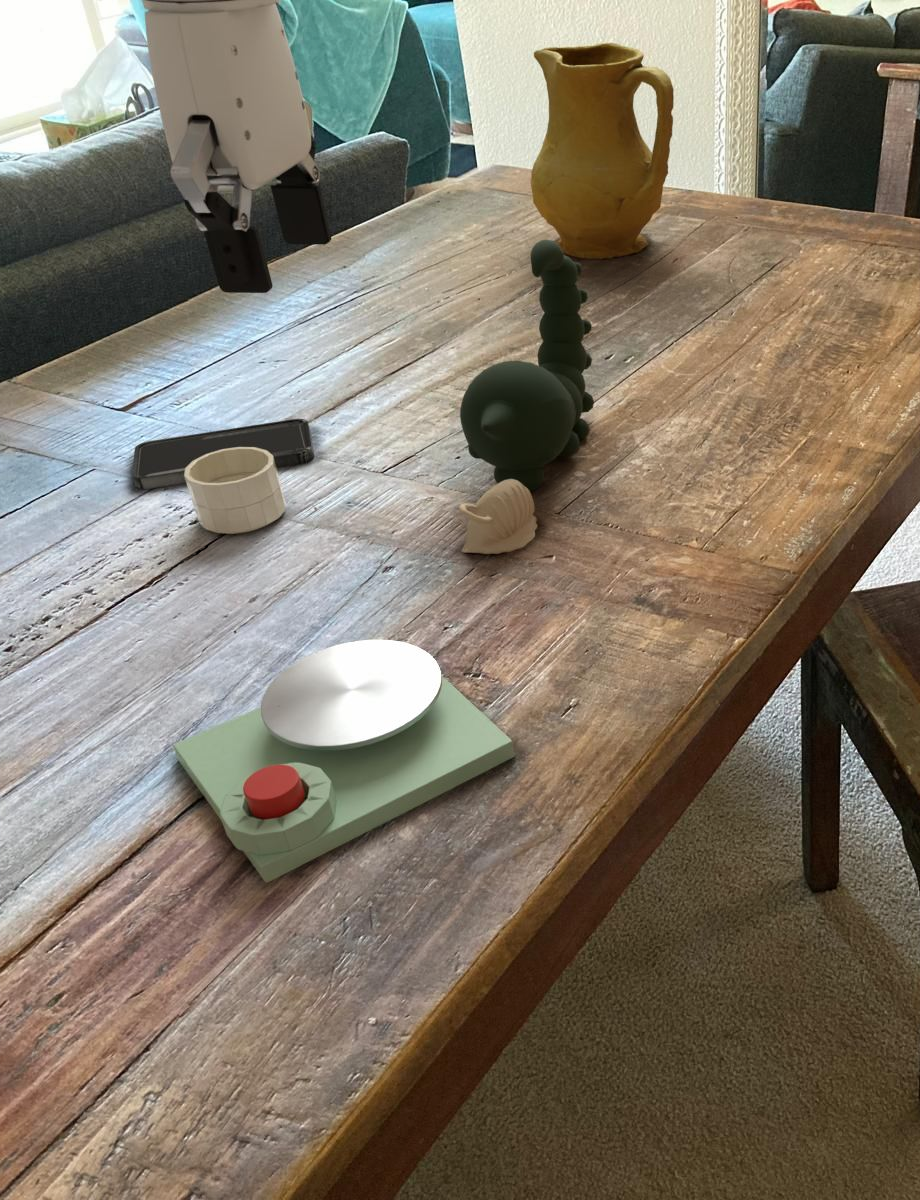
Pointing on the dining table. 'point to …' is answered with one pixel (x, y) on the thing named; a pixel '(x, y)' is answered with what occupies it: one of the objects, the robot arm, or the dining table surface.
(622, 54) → the pitcher
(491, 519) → the decorative ornament
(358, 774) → the scale
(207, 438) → the phone
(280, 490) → the bowl
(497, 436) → the toy figurine
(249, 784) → the tare button
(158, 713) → the dining table surface
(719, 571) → the dining table surface
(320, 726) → the scale pan
